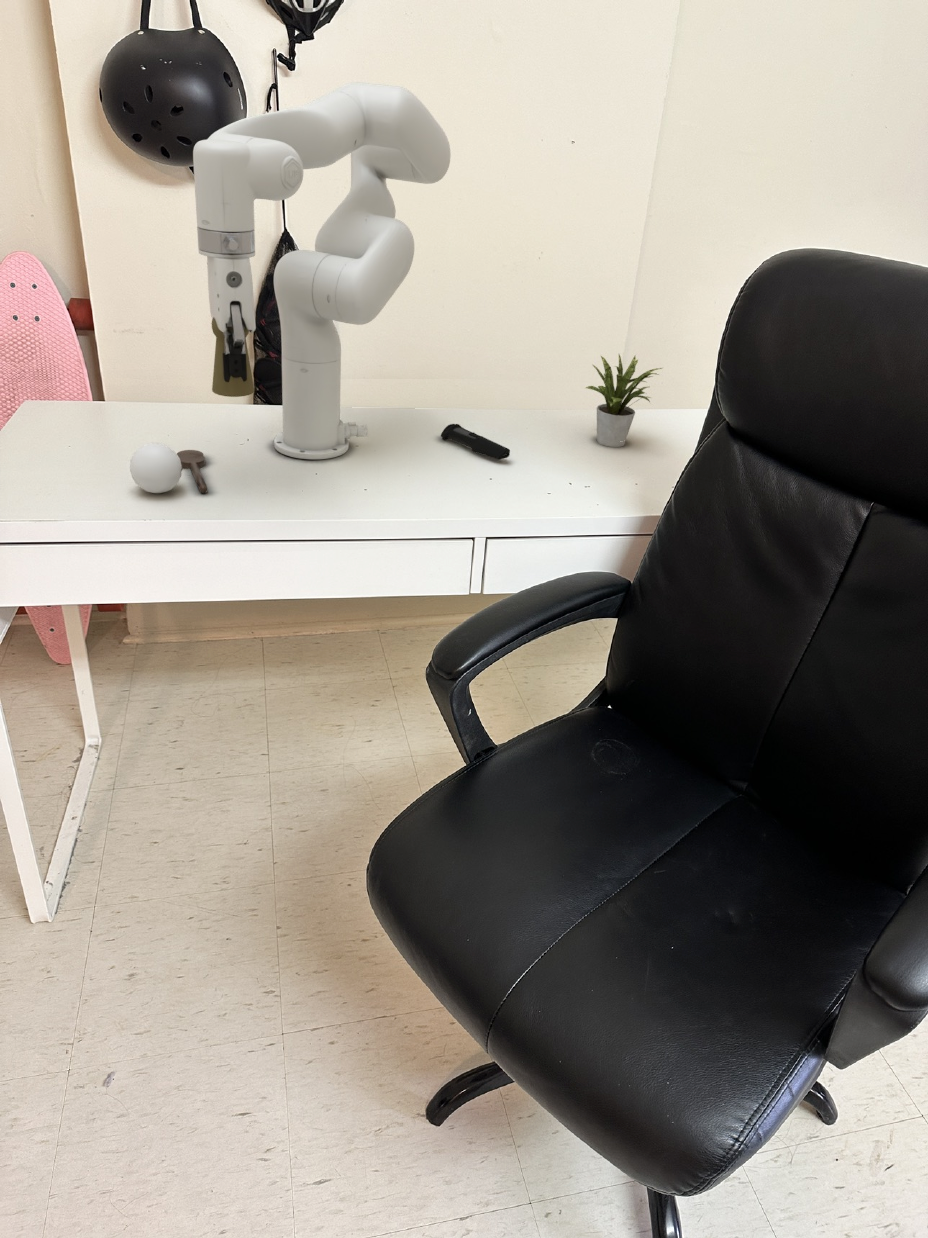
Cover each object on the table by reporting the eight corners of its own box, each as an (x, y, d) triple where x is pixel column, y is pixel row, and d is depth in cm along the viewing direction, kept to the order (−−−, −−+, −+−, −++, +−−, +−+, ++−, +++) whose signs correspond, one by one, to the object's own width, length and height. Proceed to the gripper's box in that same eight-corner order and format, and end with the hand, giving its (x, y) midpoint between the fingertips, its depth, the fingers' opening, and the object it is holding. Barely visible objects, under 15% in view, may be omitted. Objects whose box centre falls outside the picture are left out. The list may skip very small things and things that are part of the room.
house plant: (651, 462, 168) (669, 371, 160) (574, 452, 170) (587, 361, 162) (650, 437, 181) (666, 351, 172) (578, 427, 182) (590, 342, 174)
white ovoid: (187, 499, 139) (183, 451, 135) (134, 502, 136) (129, 454, 133) (179, 473, 147) (176, 428, 143) (129, 476, 144) (124, 430, 141)
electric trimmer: (497, 467, 161) (499, 450, 159) (438, 438, 170) (440, 421, 169) (513, 463, 163) (515, 446, 161) (454, 435, 172) (455, 418, 171)
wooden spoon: (174, 456, 153) (174, 449, 152) (201, 454, 154) (201, 447, 154) (189, 495, 140) (189, 487, 140) (218, 493, 142) (218, 485, 141)
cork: (260, 387, 140) (258, 311, 135) (244, 398, 135) (241, 320, 130) (222, 382, 141) (218, 306, 136) (204, 393, 136) (200, 314, 130)
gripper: (267, 254, 123) (270, 392, 132) (242, 232, 136) (247, 359, 145) (208, 253, 120) (215, 395, 129) (189, 231, 133) (197, 361, 142)
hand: (232, 374), depth 137 cm, fingers closed on cork, 3 cm apart
